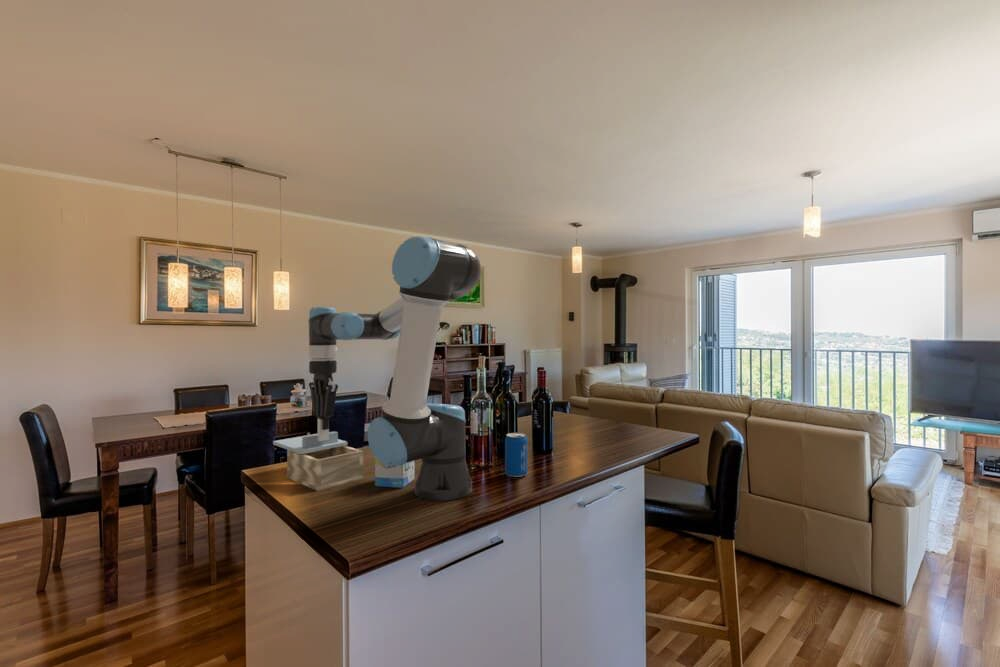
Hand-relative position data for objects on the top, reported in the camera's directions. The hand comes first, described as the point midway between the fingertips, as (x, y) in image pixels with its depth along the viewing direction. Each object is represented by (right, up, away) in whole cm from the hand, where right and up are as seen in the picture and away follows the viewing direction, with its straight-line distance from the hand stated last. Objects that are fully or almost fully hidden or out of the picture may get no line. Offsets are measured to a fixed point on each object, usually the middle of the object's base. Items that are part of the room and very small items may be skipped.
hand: (323, 440), depth 134 cm
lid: (-6, -3, +5) cm, 9 cm away
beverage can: (+57, -11, +1) cm, 58 cm away
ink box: (+22, -11, -5) cm, 25 cm away
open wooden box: (+1, -11, -1) cm, 11 cm away
